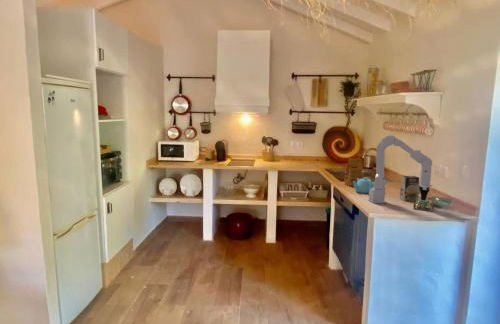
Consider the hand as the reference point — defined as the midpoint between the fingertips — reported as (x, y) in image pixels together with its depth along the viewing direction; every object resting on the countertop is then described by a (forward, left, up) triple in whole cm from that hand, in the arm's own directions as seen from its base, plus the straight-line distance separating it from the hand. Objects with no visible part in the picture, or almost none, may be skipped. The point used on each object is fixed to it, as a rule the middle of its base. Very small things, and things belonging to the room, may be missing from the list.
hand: (423, 199), depth 203 cm
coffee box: (+2, +19, -6) cm, 20 cm away
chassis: (0, 0, -6) cm, 6 cm away
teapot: (-18, +43, -6) cm, 47 cm away
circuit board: (0, 0, -2) cm, 2 cm away
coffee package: (-18, +65, -6) cm, 68 cm away
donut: (+12, +29, -6) cm, 32 cm away
